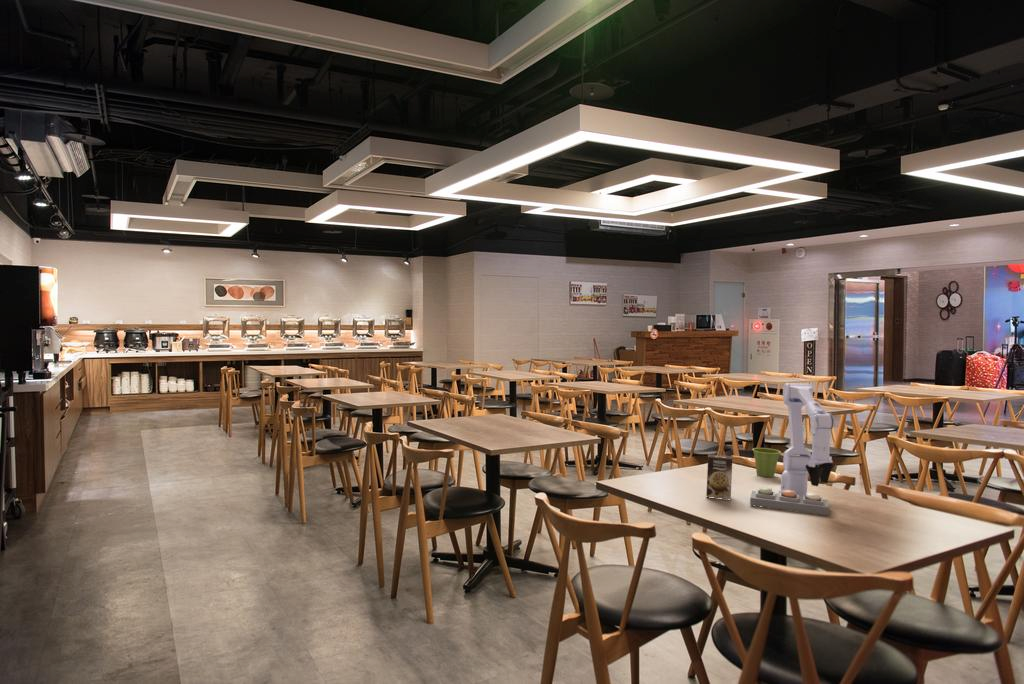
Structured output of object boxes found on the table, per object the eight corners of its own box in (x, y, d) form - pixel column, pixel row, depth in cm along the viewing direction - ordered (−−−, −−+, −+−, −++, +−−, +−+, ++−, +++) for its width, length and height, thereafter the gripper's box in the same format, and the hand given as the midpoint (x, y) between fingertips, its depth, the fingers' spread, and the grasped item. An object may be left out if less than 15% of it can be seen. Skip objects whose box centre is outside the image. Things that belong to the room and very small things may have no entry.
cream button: (806, 499, 230) (806, 495, 230) (806, 496, 234) (806, 492, 234) (819, 500, 228) (820, 496, 228) (819, 497, 232) (819, 493, 232)
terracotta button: (782, 496, 233) (782, 492, 233) (782, 493, 237) (782, 489, 237) (795, 497, 231) (795, 493, 231) (795, 494, 235) (795, 490, 235)
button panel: (750, 505, 235) (750, 494, 235) (751, 498, 245) (752, 487, 245) (828, 515, 224) (829, 504, 224) (827, 507, 234) (827, 496, 234)
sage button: (759, 493, 237) (759, 489, 236) (759, 490, 241) (759, 486, 240) (771, 494, 235) (771, 490, 235) (772, 492, 239) (772, 488, 239)
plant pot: (777, 480, 274) (778, 454, 274) (749, 476, 281) (749, 450, 280) (782, 474, 285) (783, 449, 284) (754, 471, 291) (755, 446, 290)
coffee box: (706, 498, 244) (707, 456, 243) (706, 494, 250) (707, 453, 249) (731, 501, 241) (732, 458, 240) (731, 496, 247) (732, 455, 246)
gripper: (823, 451, 222) (822, 489, 222) (840, 446, 231) (839, 483, 232) (803, 447, 227) (801, 485, 228) (821, 443, 237) (819, 479, 237)
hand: (819, 483), depth 230 cm, fingers open, 7 cm apart
